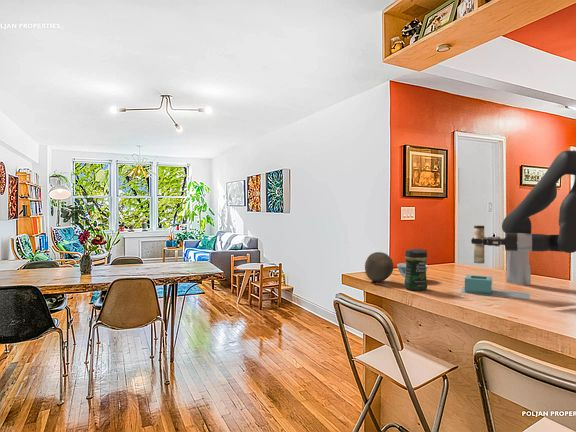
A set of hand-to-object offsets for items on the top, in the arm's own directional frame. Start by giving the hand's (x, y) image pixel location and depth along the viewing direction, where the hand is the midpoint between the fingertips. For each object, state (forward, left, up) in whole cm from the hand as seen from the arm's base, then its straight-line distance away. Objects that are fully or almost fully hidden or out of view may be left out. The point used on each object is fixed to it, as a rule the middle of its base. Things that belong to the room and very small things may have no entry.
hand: (472, 240), depth 161 cm
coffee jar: (+19, -14, -23) cm, 33 cm away
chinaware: (+8, -34, -23) cm, 42 cm away
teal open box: (-2, +2, -23) cm, 23 cm away
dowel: (-2, +2, -9) cm, 10 cm away
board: (-6, +6, -23) cm, 24 cm away
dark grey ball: (+27, -34, -23) cm, 49 cm away
